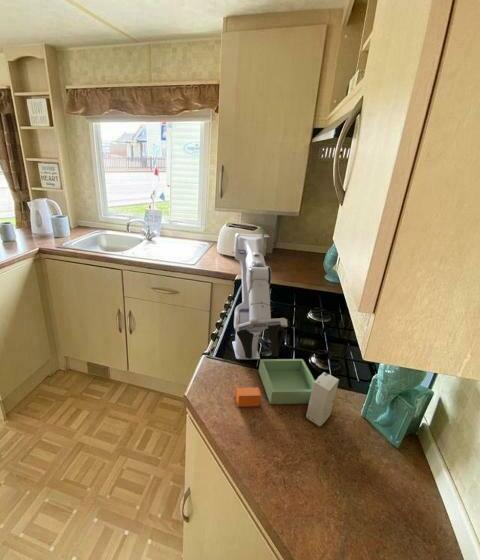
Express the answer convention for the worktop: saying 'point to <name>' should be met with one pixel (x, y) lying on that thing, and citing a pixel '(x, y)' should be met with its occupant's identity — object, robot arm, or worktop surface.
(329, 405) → the cosmetic box
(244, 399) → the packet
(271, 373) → the tray
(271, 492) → the worktop surface
